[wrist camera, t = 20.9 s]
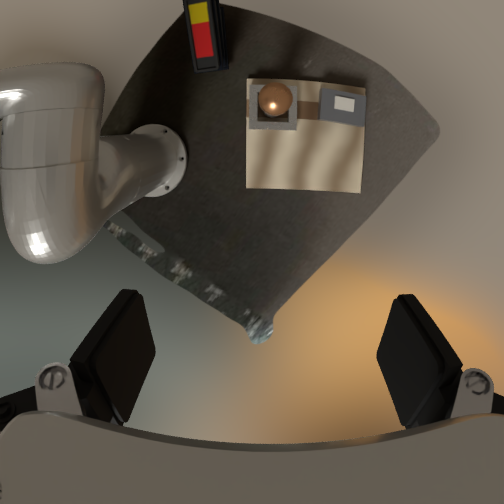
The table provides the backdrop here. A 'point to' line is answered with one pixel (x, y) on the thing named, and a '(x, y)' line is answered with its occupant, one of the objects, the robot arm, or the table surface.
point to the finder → (341, 107)
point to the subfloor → (305, 146)
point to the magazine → (206, 35)
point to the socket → (255, 125)
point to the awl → (275, 99)
